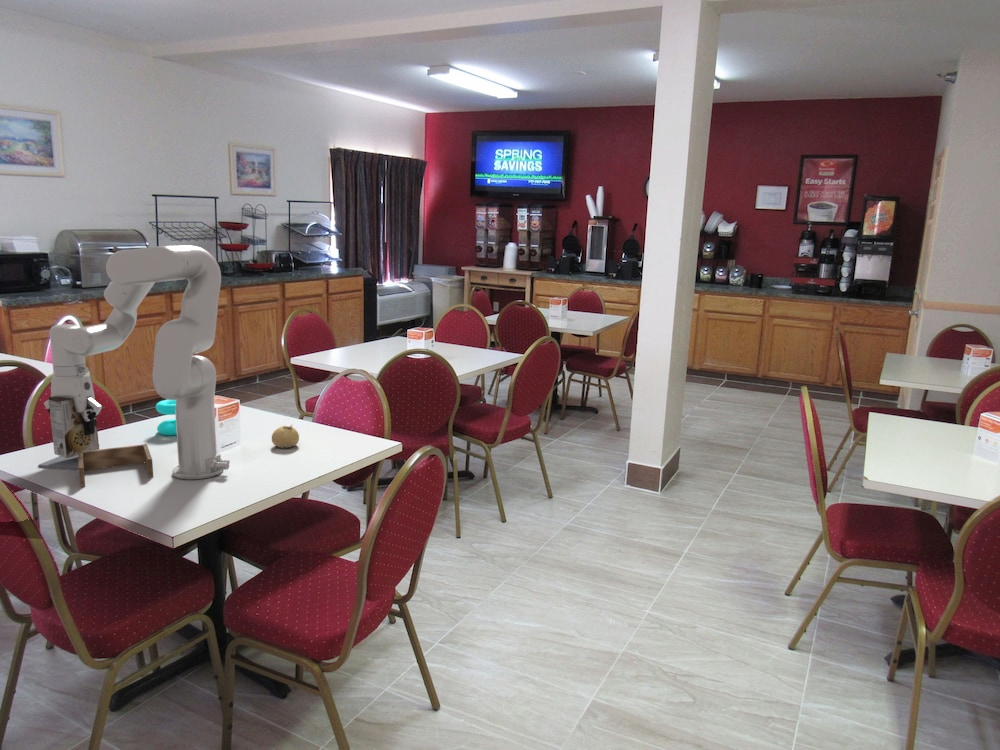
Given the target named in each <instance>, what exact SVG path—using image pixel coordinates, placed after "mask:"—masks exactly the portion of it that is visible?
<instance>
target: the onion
mask: <svg viewBox="0 0 1000 750" xmlns="http://www.w3.org/2000/svg"><path fill="white" fill-rule="evenodd" d="M293 425H294V424H291V425H286V424H285V425H281V426H279V427H278V428H276V429H275V430H274V431H273V432H272V435H271V442H272V443H273V445H274V446H275V445H276V446H275V447H277V446H278V447H277V448H279V447H290V448H292V447H291V446H293V447H294V445H295V446H296V445H297V444H299V441H300V434H299V432H298V431H297V429H295V428H294V427H293Z"/></svg>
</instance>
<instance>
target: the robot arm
mask: <svg viewBox="0 0 1000 750" xmlns="http://www.w3.org/2000/svg"><path fill="white" fill-rule="evenodd" d="M105 270H106V275H107V276H108V278H109V279H110V280H111V281H110V282H109V284H108V285H107V286H106V288H105V289H104V291H103V297H104V299H105V301H107V303H108V304H109V305H110V306H111V307H113V309H112V310H111V313H110V314H109V315H108V317H107V318H106V319H105V321H104V322H102V323H99V324H93V325H88V326H80V325H79V324H78V325H77V324H74V323H73V324H70V323H69V324H68V323H67V324H56V325H52V326H51V328H50V329H49V340H50V350H51V360H52V374H53V375H52V376H51V383H50V397H63V398H71V399H74V403H75V408H76V412H77V413H81V415H82V416H83V418H84V420H85V421H84V422H83V427H84V435H85V436H88V435H91V434H93V433H95V428H94V419H96V420H97V417H98V416H99V415H100V412H101V410H102V408H103V406H102V405H101V404H100V403H99V402H98V401H96V397H95V391H94V386H93V382H92V379H91V376H90V375H89V374H87V373H88V372H89V370H90V369H89V368H88V367H86V356H92V355H97V354H101V353H105V352H110V351H113V350H116V349H118V348H119V347H121V346H122V345H123V344H124V342H125V341H126V340H127V339H128V337H129V336H130V334H132V332H133V330H134V329H135V327H136V324H137V319H138V311H137V309H138V308H139V306H140V305H141V303H142V302H143V301H144V299H145V298H146V296H147V295H148V293H149V292H150V291H151V289H152V288H153V287H154V285H155V284H156V283H162V282H163V283H164V282H173V281H183V280H187V281H188V282H187V286H186V287H185V290H184V292H183V294H182V297H181V307H180V308H181V309H180V314H179V317H178V318H176V319H171V320H169V321H167V322H164V323H163V324H162V325H161V327H160V328H159V329H158V331H157V334H156V336H155V342H154V350H153V351H154V353H153V365H152V384H153V388H154V390H155V391H156V393H157V395H159V396H160V397H161V398H162V399H163V400H164V399H165V400H176V406H175V414H176V415H175V419H176V432H177V435H176V444H177V445H176V446H177V459H178V461H177V463H178V465H176V466H175V467H173V469H172V476H173V477H175V478H176V479H181V480H202V479H208V478H211V477H216V476H217V475H219V474H221V473H222V472H224V470H225V471H229V468H230V463H231V462H230V459H229V460H228V459H222V458H221V456H222V455H221V454H220V453H217V435H216V416H215V415H216V414H215V412H216V410H215V397H216V396H215V392H216V385H217V370H216V367H215V365H214V363H213V362H212V361H211V360H210V359H209V358H207V357H205V356H202V355H198V354H200V353H202V352H205V351H207V350H209V349H211V347H213V345H214V343H215V338H216V330H217V322H218V321H217V319H218V318H217V317H218V308H219V297H220V293H221V292H220V291H221V285H222V272H221V268H220V266H219V263H218V261H217V260H216V258H215V257H214V255H213V254H211V253H210V252H209V251H208V250H206V249H204V248H202V247H200V246H196V245H191V244H190V245H187V244H183V245H182V244H181V245H179V244H177V245H160V246H159V245H158V246H152V247H151V246H150V247H142V248H134V249H133V248H132V249H122V250H118V251H115V252H114V253H112V254H111V255H110V256H109V257H108V259H107V261H106V265H105ZM195 354H197V355H195ZM87 404H89V405H90V406H92V407H93V411H92V410H91V408H92V407H88V409H86V407H87ZM43 405H44V407H45V408H46V409H47V412H48V413H49V414H50V407H49V398H48V399H47V400H45V401H44V402H43ZM86 412H88V415H89V416H88V415H87V413H86Z"/></svg>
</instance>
